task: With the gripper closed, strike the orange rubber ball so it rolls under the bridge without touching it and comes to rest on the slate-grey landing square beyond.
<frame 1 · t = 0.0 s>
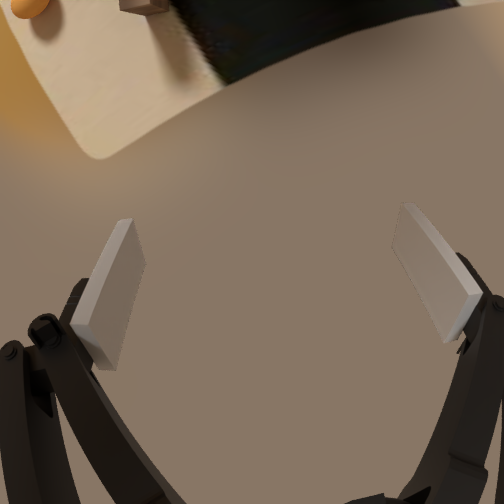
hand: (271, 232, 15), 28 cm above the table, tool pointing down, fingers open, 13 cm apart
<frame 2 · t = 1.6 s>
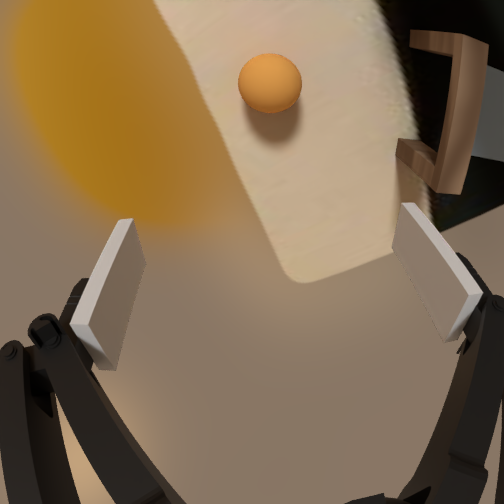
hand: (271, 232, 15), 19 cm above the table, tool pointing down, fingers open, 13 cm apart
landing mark: (497, 115, 29), on the table
bridge: (416, 95, 28), on the table
ball: (270, 83, 25), on the table
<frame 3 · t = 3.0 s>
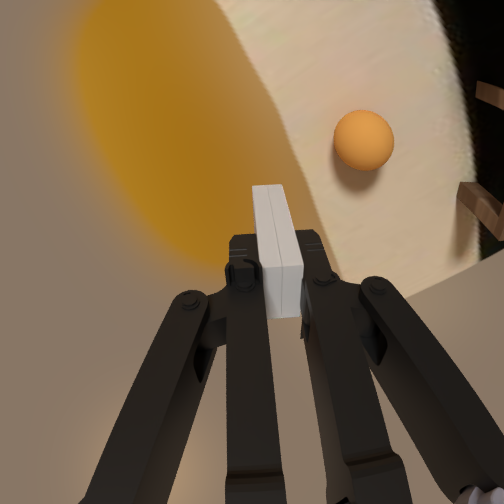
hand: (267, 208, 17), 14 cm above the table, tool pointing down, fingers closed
bridge: (477, 142, 29), on the table
ball: (363, 140, 26), on the table
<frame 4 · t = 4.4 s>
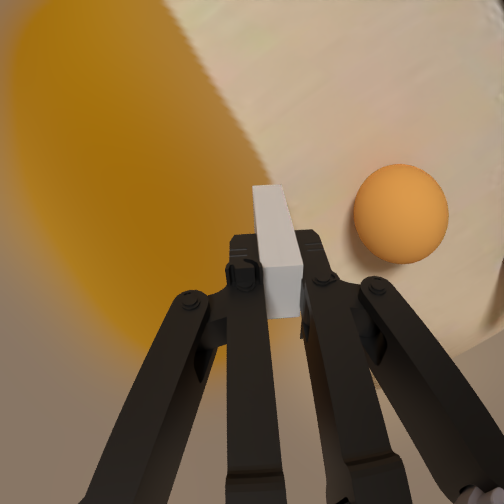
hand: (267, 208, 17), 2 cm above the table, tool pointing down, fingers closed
ball: (401, 214, 17), on the table
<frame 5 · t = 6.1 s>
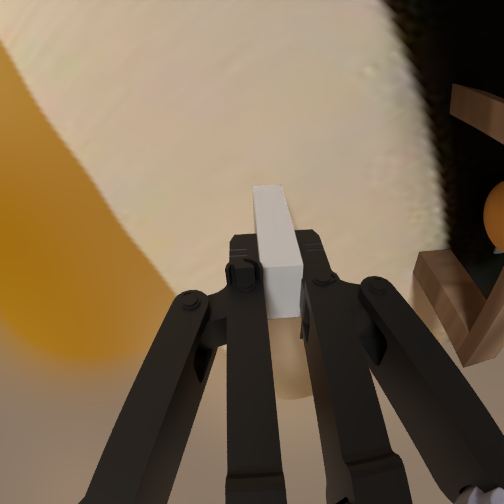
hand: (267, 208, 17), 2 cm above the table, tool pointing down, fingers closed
bridge: (452, 189, 19), on the table
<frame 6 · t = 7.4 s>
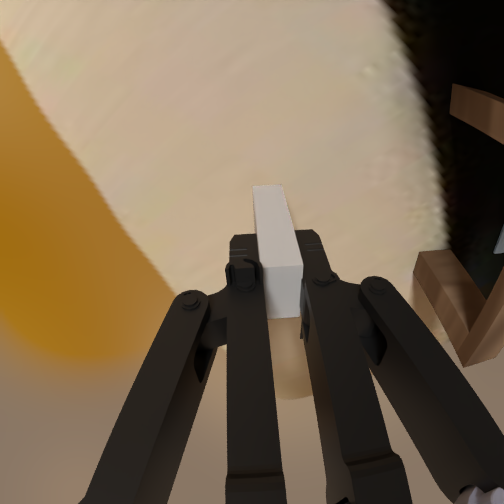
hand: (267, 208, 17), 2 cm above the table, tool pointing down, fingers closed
bridge: (452, 189, 19), on the table
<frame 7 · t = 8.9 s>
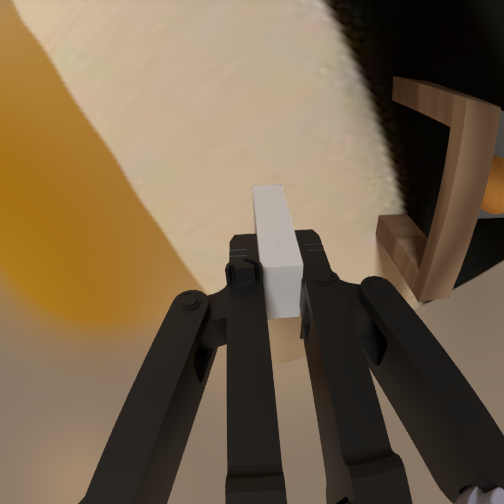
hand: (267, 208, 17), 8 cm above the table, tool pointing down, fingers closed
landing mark: (501, 167, 25), on the table
bridge: (401, 161, 25), on the table
ball: (494, 184, 23), on the table
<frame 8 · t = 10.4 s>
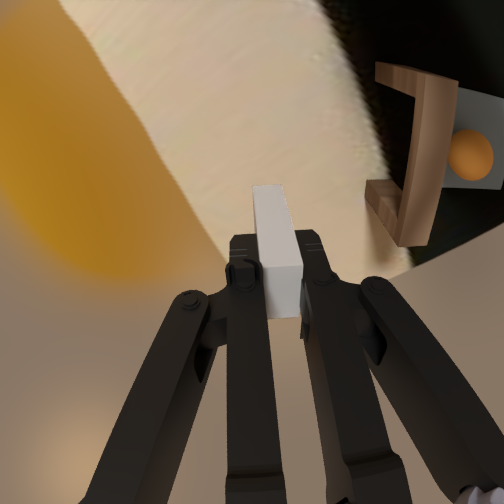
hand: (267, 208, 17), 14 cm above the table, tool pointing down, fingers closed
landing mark: (479, 142, 29), on the table
bridge: (385, 132, 29), on the table
ball: (470, 154, 27), on the table
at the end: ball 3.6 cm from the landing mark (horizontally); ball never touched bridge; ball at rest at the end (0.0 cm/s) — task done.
